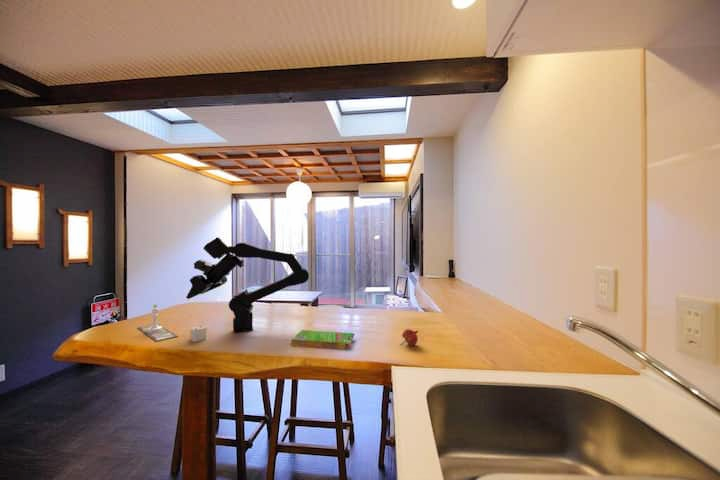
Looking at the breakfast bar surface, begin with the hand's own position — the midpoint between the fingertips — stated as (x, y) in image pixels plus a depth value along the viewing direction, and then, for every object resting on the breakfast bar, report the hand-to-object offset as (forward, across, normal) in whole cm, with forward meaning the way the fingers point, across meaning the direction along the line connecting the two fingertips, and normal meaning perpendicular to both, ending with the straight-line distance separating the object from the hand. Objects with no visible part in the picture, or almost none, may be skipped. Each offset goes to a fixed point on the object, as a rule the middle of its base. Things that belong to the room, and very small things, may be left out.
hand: (194, 295), depth 102 cm
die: (+5, +9, +14) cm, 17 cm away
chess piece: (+20, -1, -1) cm, 20 cm away
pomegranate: (-47, +18, +66) cm, 83 cm away
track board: (+19, +1, 0) cm, 19 cm away
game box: (-26, +13, +46) cm, 55 cm away
